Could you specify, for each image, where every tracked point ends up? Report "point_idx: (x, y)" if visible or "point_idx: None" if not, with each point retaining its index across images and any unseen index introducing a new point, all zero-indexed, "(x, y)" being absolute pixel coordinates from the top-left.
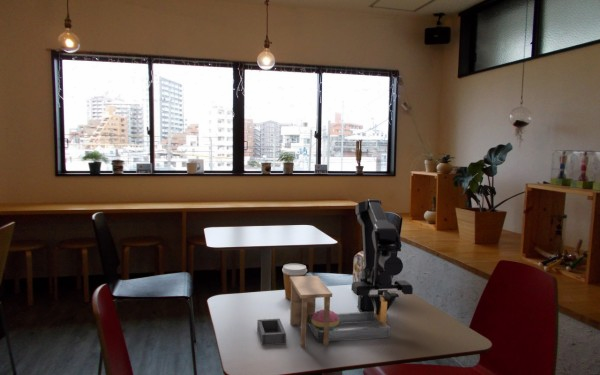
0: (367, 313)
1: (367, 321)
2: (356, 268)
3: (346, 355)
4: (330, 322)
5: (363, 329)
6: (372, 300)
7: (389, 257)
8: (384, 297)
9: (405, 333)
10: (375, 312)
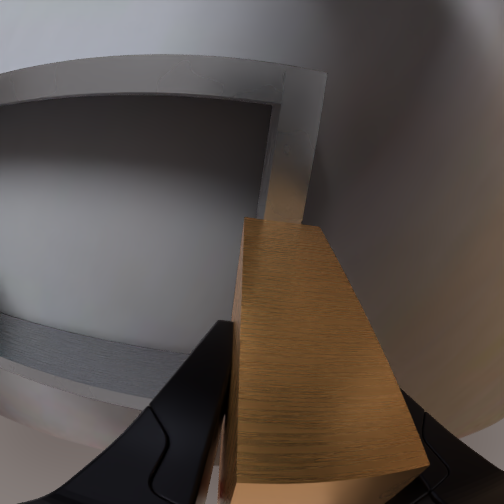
0: (215, 95)
1: (228, 99)
2: None
3: (26, 402)
4: None
5: (68, 391)
6: (119, 461)
7: None
8: (419, 493)
9: (388, 341)
10: (212, 330)
